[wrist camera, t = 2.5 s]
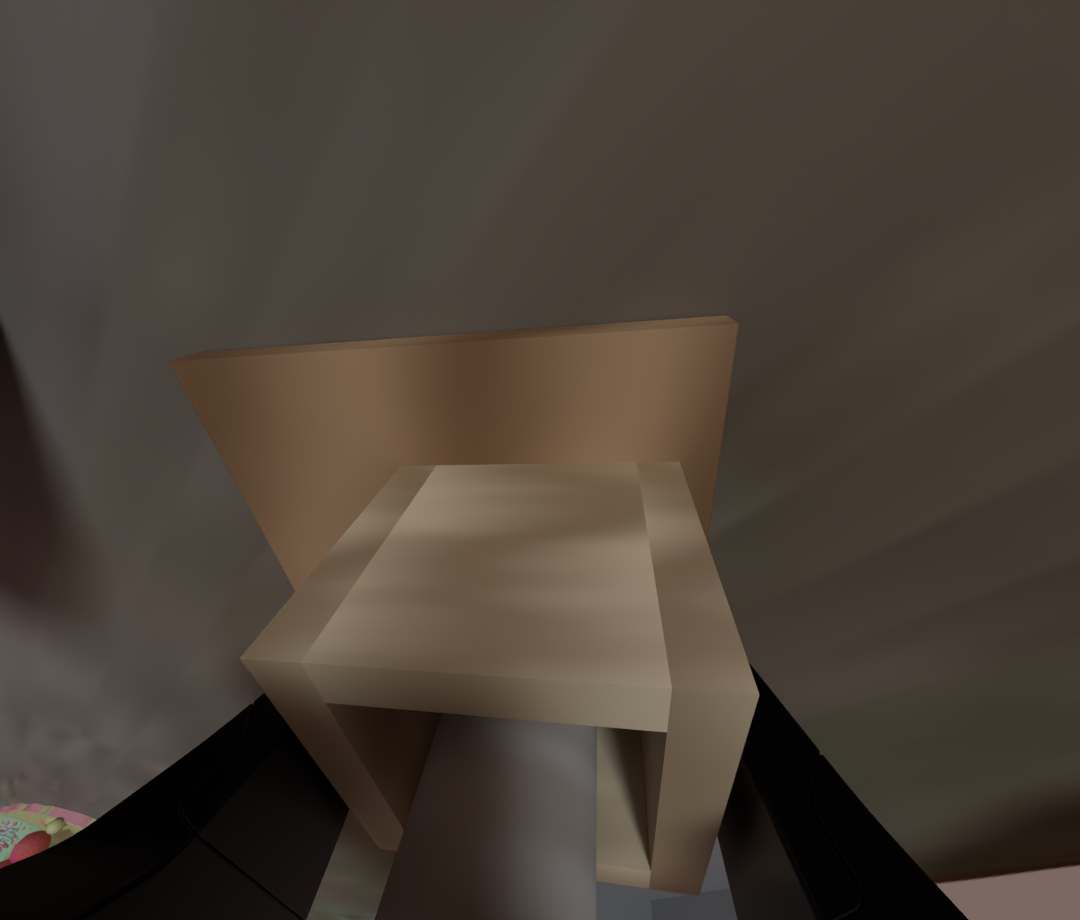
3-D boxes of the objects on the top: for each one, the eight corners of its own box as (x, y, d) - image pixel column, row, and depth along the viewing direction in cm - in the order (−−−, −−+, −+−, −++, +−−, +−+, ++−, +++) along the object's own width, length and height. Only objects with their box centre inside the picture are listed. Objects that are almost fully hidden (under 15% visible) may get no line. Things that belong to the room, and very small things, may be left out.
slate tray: (682, 700, 14) (697, 785, 12) (898, 852, 17) (940, 939, 15) (458, 795, 20) (442, 861, 18) (648, 892, 24) (653, 958, 22)
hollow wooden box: (680, 461, 9) (759, 694, 4) (659, 691, 13) (689, 927, 8) (400, 465, 10) (239, 658, 5) (465, 677, 14) (403, 882, 9)
